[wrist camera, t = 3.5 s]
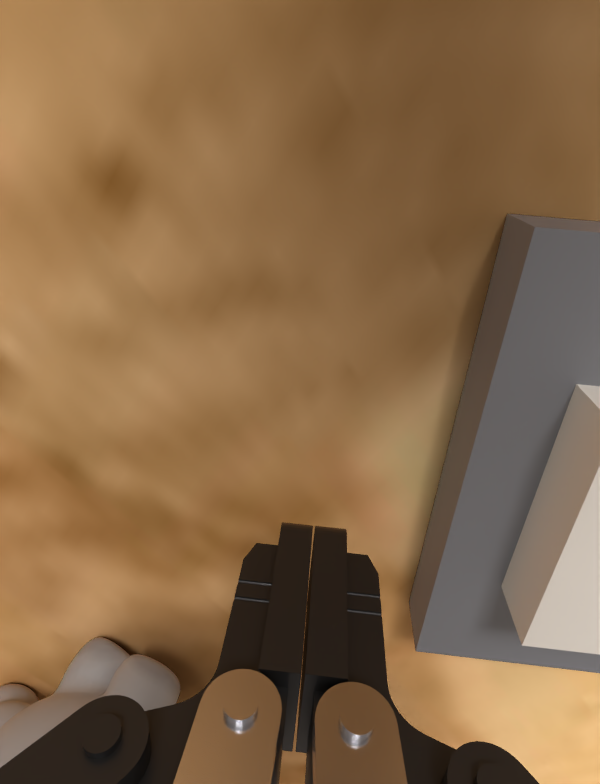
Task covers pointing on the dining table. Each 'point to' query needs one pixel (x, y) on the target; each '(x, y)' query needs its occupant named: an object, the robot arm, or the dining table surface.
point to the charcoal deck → (508, 437)
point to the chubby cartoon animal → (83, 693)
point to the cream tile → (562, 540)
